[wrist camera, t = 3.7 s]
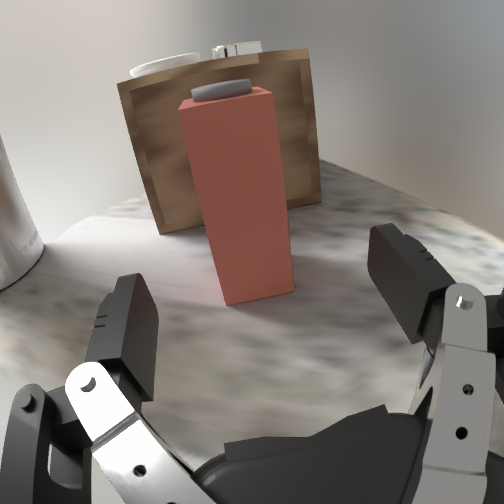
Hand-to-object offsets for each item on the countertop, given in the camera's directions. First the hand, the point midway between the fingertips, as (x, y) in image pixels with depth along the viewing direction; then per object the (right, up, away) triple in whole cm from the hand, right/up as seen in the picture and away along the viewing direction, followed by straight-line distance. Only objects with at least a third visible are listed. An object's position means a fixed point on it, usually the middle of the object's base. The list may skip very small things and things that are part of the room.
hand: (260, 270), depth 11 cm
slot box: (-2, +7, +21) cm, 23 cm away
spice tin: (0, -1, +9) cm, 9 cm away
